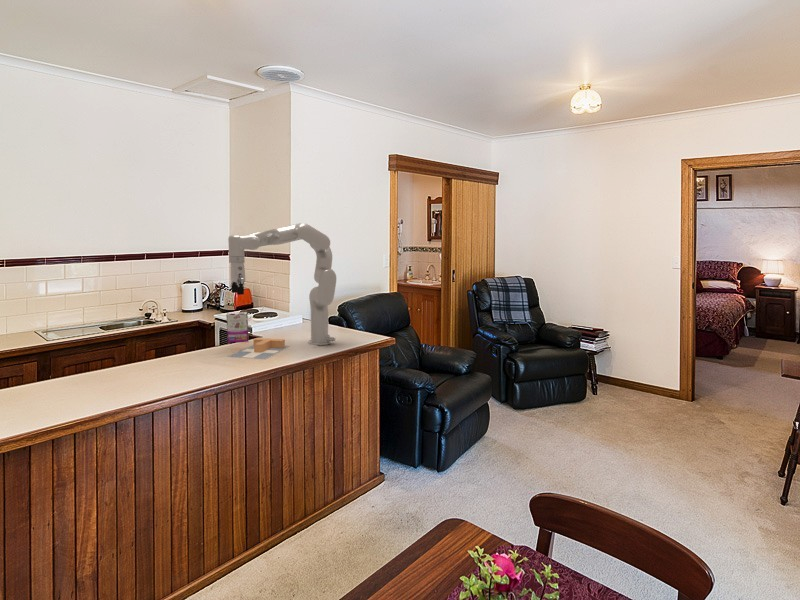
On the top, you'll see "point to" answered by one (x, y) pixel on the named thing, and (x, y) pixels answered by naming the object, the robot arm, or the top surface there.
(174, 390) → the top surface
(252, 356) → the mat
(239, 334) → the candy bar box
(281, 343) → the t block
